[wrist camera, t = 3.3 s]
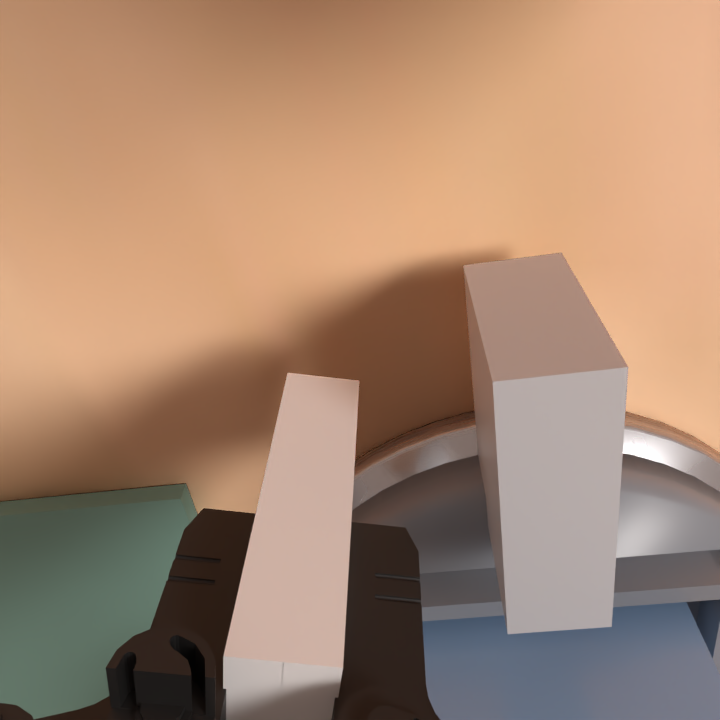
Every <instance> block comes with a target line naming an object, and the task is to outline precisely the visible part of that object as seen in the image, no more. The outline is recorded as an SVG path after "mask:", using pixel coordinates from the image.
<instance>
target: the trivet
mask: <svg viewBox="0 0 720 720" xmlns="http://www.w3.org/2000/svg"><path fill="white" fill-rule="evenodd" d="M197 515H198V514H197V512H196V509H195V506H194V504H193V501H192V498H191V496H190V493H189V490H188V488H187V485H186V484H177V485H166V486H156V487H146V488H136V489H126V490H115V491H105V492H95V493H85V494H75V495H64V496H54V497H44V498H34V499H24V500H13V501H3V502H0V703H5V704H13V705H17V706H19V707H20V708H22V709H23V710H25V711H26V712H28V713H29V714H31V715H32V717H33V719H38V718H42V717H47V716H51V715H56V714H60V713H65V712H69V711H74V710H78V709H81V708H84V707H87V706H90V705H93V704H96V703H97V702H99V701H101V700H103V699H105V698H106V697H108V696H109V689H108V681H107V674H106V666H107V665H108V663H109V661H110V660H111V658H112V657H113V655H114V653H115V652H116V650H117V649H118V648H119V647H120V646H122V645H123V644H124V643H125V642H127V641H128V640H129V639H130V638H131V637H133V636H134V635H137V634H139V633H142V632H144V631H147V630H149V629H150V628H151V625H152V622H153V619H154V616H155V613H156V610H157V607H158V604H159V601H160V598H161V595H162V593H163V590H164V587H165V584H166V581H168V575H169V572H170V569H171V566H172V563H173V560H175V556H176V552H177V549H178V546H179V543H180V540H181V537H182V534H183V531H184V529H185V528H186V527H187V526H188V525H189V523H190V522H191V521H192V520H193V519H194V518H195V517H196V516H197Z"/></svg>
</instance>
